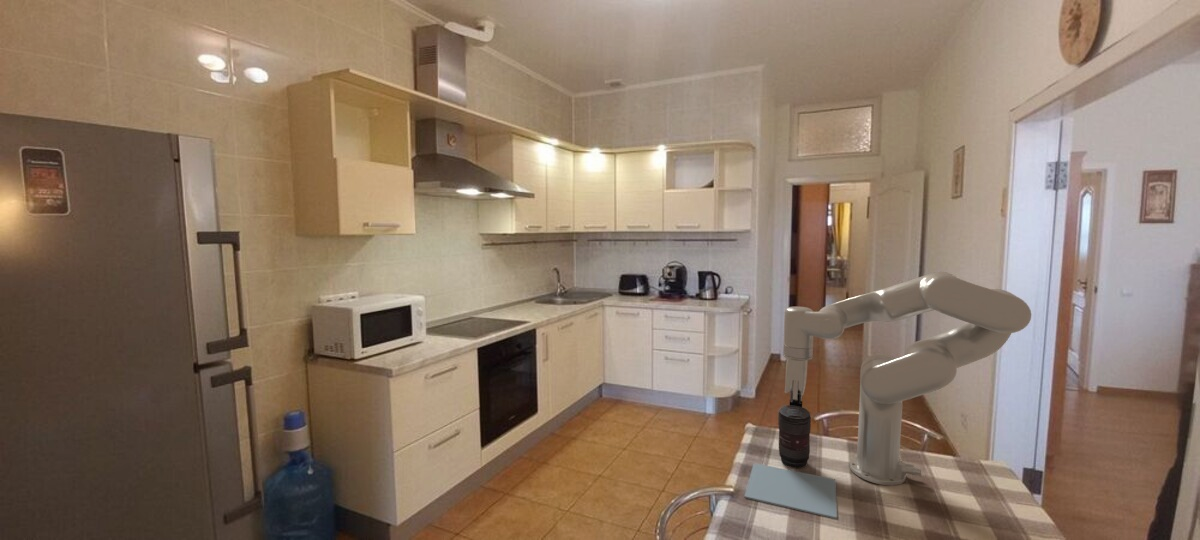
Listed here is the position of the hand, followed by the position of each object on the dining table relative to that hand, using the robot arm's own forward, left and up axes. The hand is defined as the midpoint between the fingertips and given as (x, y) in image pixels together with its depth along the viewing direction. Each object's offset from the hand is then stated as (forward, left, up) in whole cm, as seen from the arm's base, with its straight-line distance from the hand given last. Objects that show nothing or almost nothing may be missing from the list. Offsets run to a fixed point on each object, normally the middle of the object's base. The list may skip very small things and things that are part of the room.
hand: (795, 414), depth 132 cm
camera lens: (0, +5, -12) cm, 13 cm away
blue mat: (0, +19, -12) cm, 22 cm away
